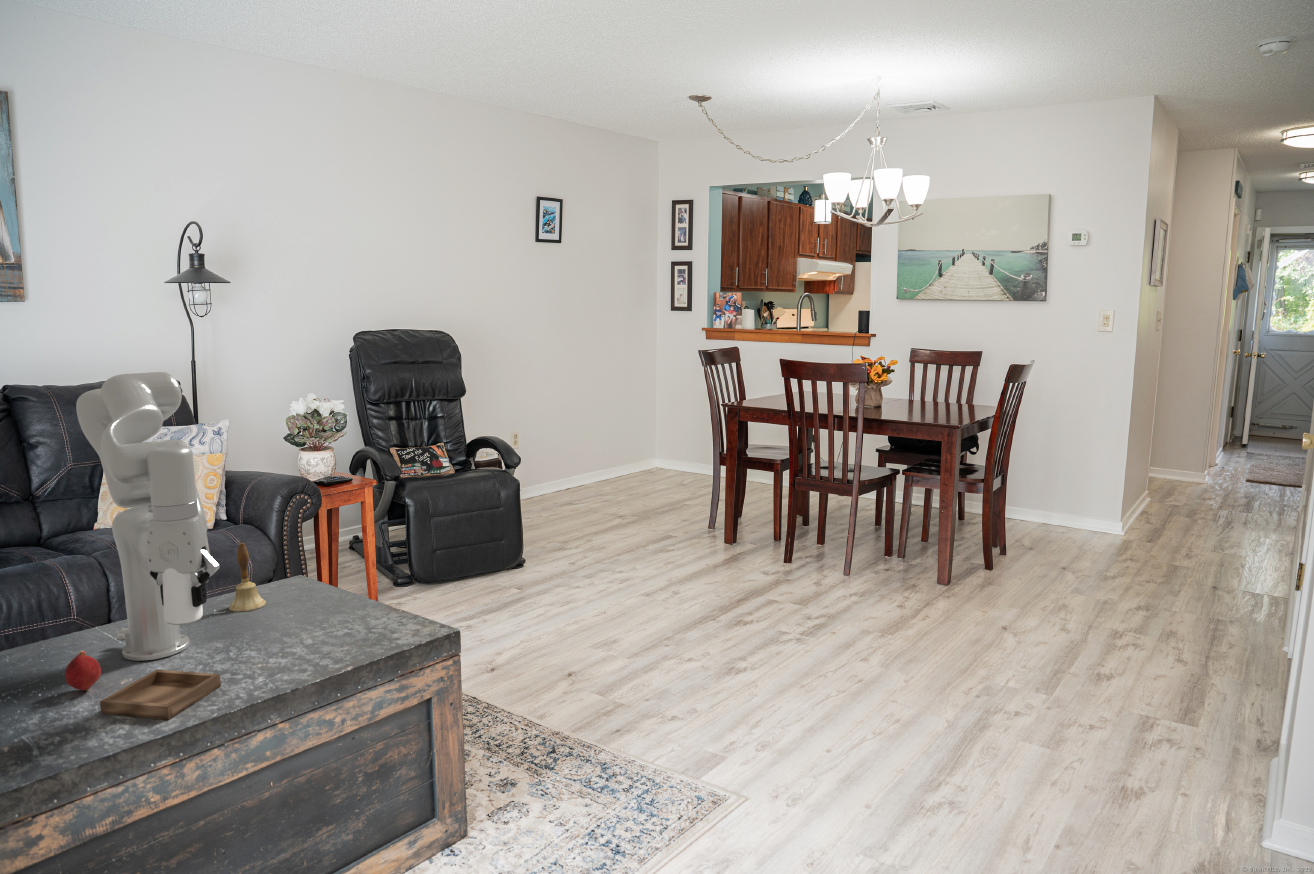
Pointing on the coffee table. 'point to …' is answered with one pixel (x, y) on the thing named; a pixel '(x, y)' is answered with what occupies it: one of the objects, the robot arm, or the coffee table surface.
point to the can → (179, 598)
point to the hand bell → (245, 586)
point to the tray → (160, 694)
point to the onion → (82, 672)
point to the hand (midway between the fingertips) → (184, 603)
